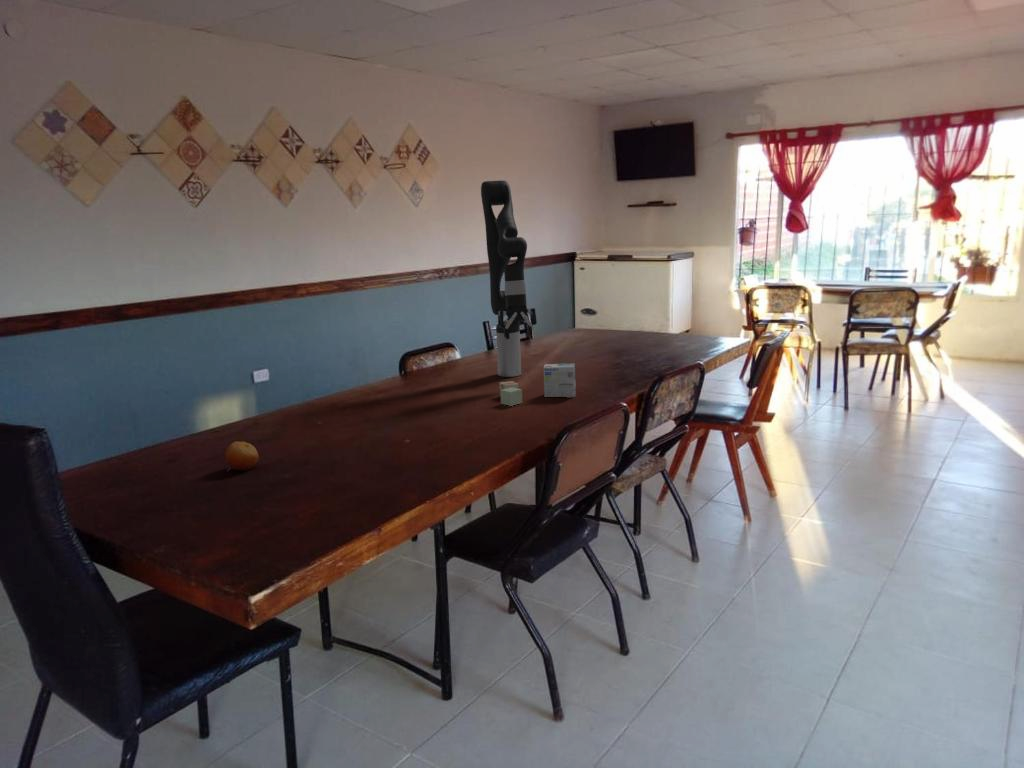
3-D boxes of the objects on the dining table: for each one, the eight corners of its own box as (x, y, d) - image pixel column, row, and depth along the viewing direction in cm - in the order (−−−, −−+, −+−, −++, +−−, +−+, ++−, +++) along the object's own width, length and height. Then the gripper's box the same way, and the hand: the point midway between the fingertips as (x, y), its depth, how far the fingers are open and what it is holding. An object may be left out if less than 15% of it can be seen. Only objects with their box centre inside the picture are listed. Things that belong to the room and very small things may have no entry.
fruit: (226, 458, 193) (239, 433, 191) (253, 473, 193) (266, 447, 192) (213, 468, 185) (226, 442, 183) (241, 483, 185) (255, 457, 184)
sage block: (501, 404, 246) (500, 389, 245) (512, 401, 249) (511, 387, 248) (511, 407, 242) (510, 392, 241) (522, 404, 246) (521, 389, 244)
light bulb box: (575, 393, 258) (575, 362, 256) (575, 397, 251) (574, 366, 249) (545, 393, 259) (544, 363, 257) (543, 398, 252) (543, 367, 250)
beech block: (500, 396, 257) (499, 382, 256) (513, 395, 259) (512, 381, 258) (505, 399, 253) (504, 385, 252) (518, 398, 255) (518, 383, 254)
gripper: (529, 292, 275) (532, 336, 277) (493, 295, 270) (496, 339, 272) (537, 292, 268) (540, 336, 270) (500, 294, 263) (503, 340, 265)
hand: (518, 338), depth 271 cm, fingers open, 8 cm apart
